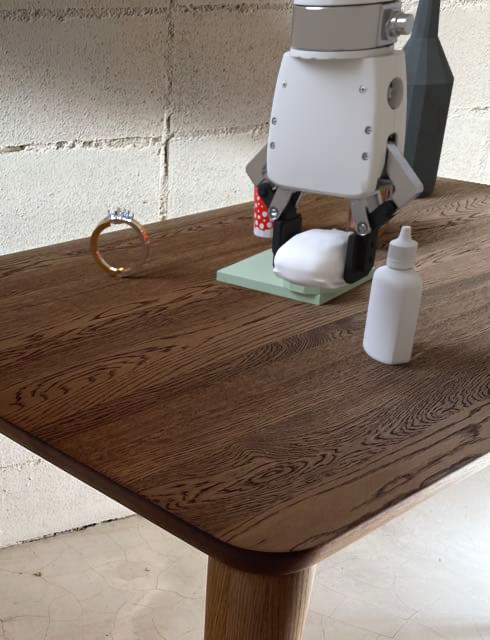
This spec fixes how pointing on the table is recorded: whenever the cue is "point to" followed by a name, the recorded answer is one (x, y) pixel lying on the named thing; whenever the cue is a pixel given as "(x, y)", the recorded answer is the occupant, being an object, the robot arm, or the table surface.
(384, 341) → the eye dropper bottle
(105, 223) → the ring
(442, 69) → the bottle
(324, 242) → the garlic
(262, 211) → the beverage cup
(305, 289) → the scale
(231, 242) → the table surface
